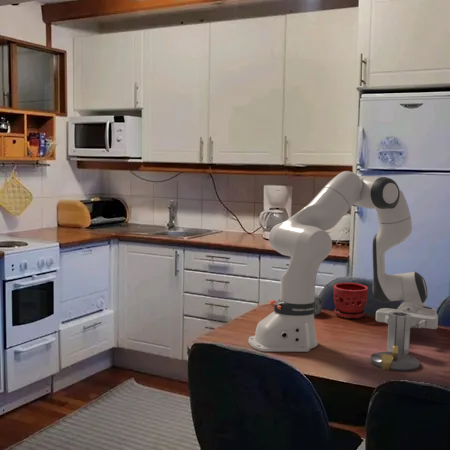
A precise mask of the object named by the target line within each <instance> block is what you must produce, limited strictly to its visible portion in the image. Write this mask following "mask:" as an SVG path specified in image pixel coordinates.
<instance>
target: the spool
mask: <svg viewBox="0 0 450 450" xmlns="http://www.w3.org/2000/svg"><path fill="white" fill-rule="evenodd" d="M314 301H315V307H316V311H315V316H318V315H320V313H321V312H322V309H323V301H322V299H321V297H320V296H319V295H318V294H316V293H315V294H314Z"/></svg>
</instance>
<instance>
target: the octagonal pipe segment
mask: <svg viewBox="0 0 450 450" xmlns="http://www.w3.org/2000/svg"><path fill="white" fill-rule="evenodd" d="M410 322H411V315H410V314H408V313H405V312H389V322H388V324H387V325H388V326H387V342H386V343H387V345H386V350H387V351H386V352H392V348H393V345H397V346H398V353H403V354H407V355H409V354H410V340H411V339H410V338H411V337H410V335H411V328H410Z"/></svg>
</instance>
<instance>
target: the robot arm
mask: <svg viewBox="0 0 450 450" xmlns="http://www.w3.org/2000/svg"><path fill="white" fill-rule="evenodd" d="M352 207H360V208H365V209H370V210H371V209H375V210H376V216H377V221H378V230H377V233H375V234H374V236H373V240H372V275H373V277H372V280H373V283H372V293H373V296H374V298H375V299H376V300H377V301H379V302H380V303H383V304H384V303H385V304H386V303H391V302H395V301H398V302H399V301H402V302H401V303H400V305H399V306H398V307H397V308H389V307H382V308H379V309H377V310H376V311H375V321H376V322H378V323H386V324H387V325H388V322H389V312H405V313H408V314H410V315H411V322H410V329H414V328H416V329H421V328H424V329H430V330H431V329H432V330H437V329H438V324H439V323H438V322H439V316H438V313H437V310H436V308H434V307H430V306H427V303H426V301H427V298H428V287H427V283H426V280H425V278H424V277H423V276H422V275H421V274H420V273H418V272H417V271H412V272H411V271H410V272H402V273H395V274H387V272H386V266H385V265H386V264H385V261H386V260H385V254H386V253H387V251H389V250H390V249H392V248H394V247H395V246H398V245H400V244H401V243H403V242H404V241H406V239H407V238H409V236H410V235H411V234H412V231H413V221H412V217H411V212H410V209H409V205H408V203H407V200H406V196H405V195H404V193H403V191H402V190H401V189H400V187H399V185H398V183H397V182H396V181H395V180H394V179H393V178H390V177H386V176H375V175H363V176H362V175H361V176H360V175H359V176H358V175H357V174H356V173H354V172H353V171H350V170H344V171H341V172H339V173H338V174H337V175H336V176H334V177H333V178H332V179H331V180H330V181H328V182H327V183H326V185H325V186H323V188H322V189H321V190H320V191H319V192H318V193H317V194H316V195H315V196H314V198H313V199H312V200H311V201H310V202H309V203H308V204H307V205H306V206H304V207H303V208H302V209H301V210H299V211H298V212H296V213H295V214H294V215H292V216H290V217H289V218H288V219H286V220H285V221H282V222H280V223H278V224H275V225H273V227H272V228H271V229H270V231H269V235H268V241H269V242H268V243H269V245H270V247H271V248H272V249H273V250H274V251H275V252H277V253H279V254H280V255H282V256H286V257H290V259H289V260H290V261H289V264H288V267H287V268H286V271H284V272H283V273H282V274H281V276H280V285H279V287H280V289H279V291H280V293H279V299H278V300H277V301H276V300H274V299H270V301H269V306H271V307H272V308H273V311H272V312H270V314H269V315H267V316H265V317H263V319H262V320H260V321H259V322H258V323H257V325H256V328H255V333H254V335H252V336H249V337H248V340H247V342H248V344H249V345H250V346H251V347H252V348H253V349H255V350H257V351H259V352H278V353H279V352H284V353H285V352H302V353H303V352H305V353H307V352H310V351H311V349H314V348H315V347H317V346H318V340H317V335H316V328H315V327H316V325H315V317H316V315H315V311H316V307H315V301H314V294H316V292H315V291H316V290H315V289H316V288H315V287H316V278H317V275H318V272H319V268H320V266H321V264H322V263H323V261H324V260H325V259H326V258H328V257H329V256H330V253H331V251H332V248H333V241H332V237H331V236H330V234H329V232H327V231H328V230H331V229H333V228H334V227H336V225H337V224H338V223H339V222H340V221H341V220H342V219H343V218H344V216H345V215H346V214H347V213H348V212H349V210H350V209H351V208H352Z"/></svg>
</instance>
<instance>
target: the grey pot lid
mask: <svg viewBox="0 0 450 450" xmlns="http://www.w3.org/2000/svg"><path fill="white" fill-rule="evenodd" d="M369 361H370V363H371V364H372V365H373V366H375V367H377V368H379V369H380V370H382V371H392V372H393V371H394V372H412V371H415V370H418V369H419V368H420V359H418V358H417V357H415V356H412V355H410V354H403V353H398V346H397V345H393V348H392V352H388V351H378V352H374V353H372V354H371V355H370V358H369Z"/></svg>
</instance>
